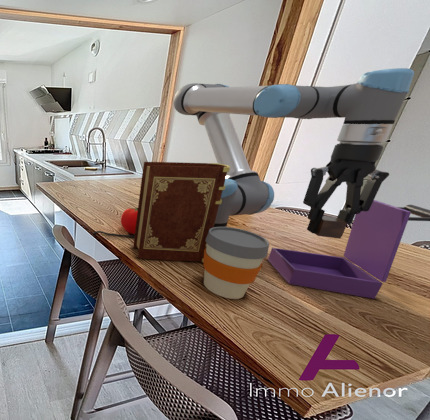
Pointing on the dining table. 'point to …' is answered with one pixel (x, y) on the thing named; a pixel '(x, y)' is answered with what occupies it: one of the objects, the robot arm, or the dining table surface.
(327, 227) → the block
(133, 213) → the tomato
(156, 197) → the decorative book
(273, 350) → the dining table surface
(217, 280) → the reusable coffee cup
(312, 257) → the purple box base
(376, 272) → the purple hinged lid
